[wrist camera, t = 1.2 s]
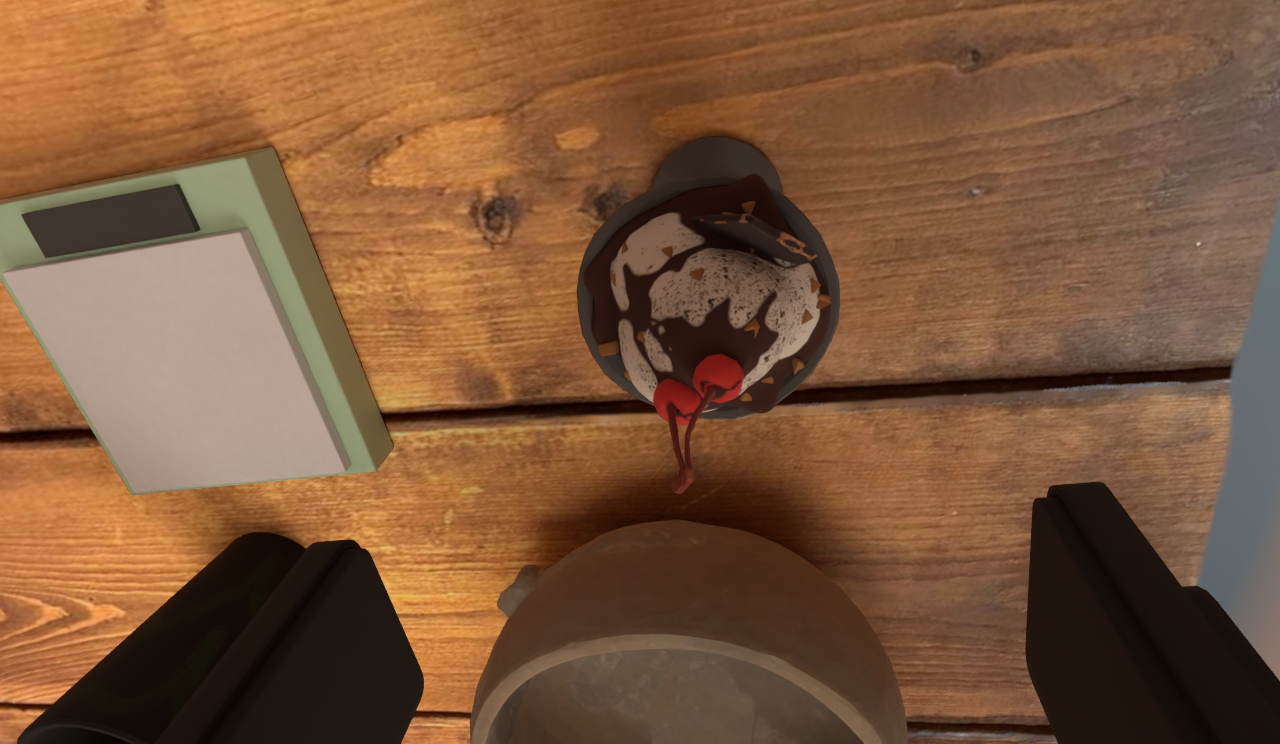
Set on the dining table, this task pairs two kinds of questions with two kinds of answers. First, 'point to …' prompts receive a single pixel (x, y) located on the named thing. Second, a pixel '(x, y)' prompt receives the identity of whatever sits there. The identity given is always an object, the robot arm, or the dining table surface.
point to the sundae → (708, 291)
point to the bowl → (684, 648)
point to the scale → (193, 325)
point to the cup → (169, 651)
